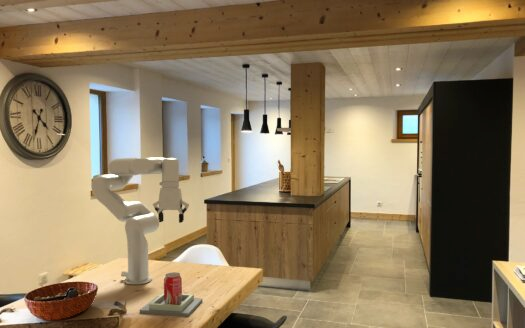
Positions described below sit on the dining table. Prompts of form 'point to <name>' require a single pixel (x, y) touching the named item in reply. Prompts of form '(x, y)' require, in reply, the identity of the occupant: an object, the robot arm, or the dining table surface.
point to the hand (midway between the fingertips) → (171, 222)
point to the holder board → (172, 306)
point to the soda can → (173, 288)
